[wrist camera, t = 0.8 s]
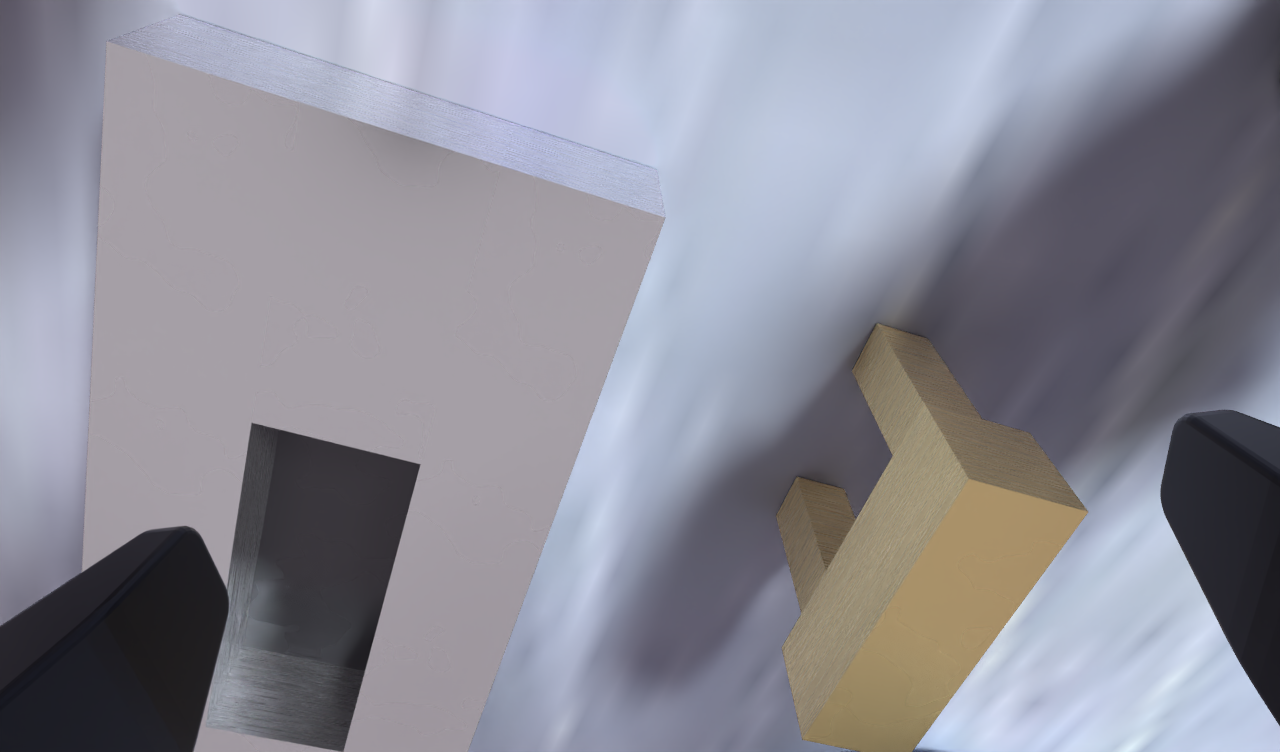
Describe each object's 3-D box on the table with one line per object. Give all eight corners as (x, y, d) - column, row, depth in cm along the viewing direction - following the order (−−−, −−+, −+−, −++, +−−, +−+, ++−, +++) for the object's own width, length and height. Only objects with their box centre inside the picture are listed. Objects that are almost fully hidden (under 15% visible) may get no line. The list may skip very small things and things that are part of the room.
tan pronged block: (954, 330, 22) (1088, 512, 16) (832, 542, 25) (905, 760, 19) (865, 303, 21) (968, 479, 15) (753, 522, 25) (802, 739, 19)
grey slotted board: (657, 170, 20) (665, 217, 17) (424, 822, 31) (408, 911, 28) (179, 14, 18) (106, 41, 15) (116, 770, 29) (68, 860, 26)
